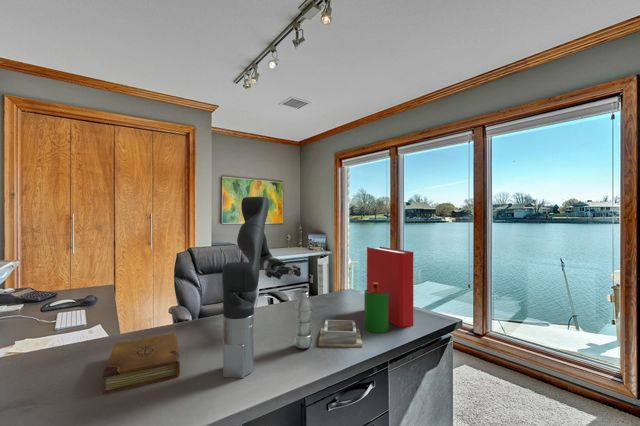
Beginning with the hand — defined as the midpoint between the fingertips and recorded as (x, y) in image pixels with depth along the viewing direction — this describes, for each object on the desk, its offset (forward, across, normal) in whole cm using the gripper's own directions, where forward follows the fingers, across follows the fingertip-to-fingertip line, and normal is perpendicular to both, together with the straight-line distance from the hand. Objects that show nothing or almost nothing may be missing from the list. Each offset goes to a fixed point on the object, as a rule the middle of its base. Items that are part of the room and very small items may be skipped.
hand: (290, 275), depth 120 cm
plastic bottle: (+13, 0, +24) cm, 27 cm away
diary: (+1, -50, +24) cm, 56 cm away
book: (+4, +51, +25) cm, 57 cm away
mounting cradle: (+13, +16, +24) cm, 31 cm away
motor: (+12, +35, +24) cm, 44 cm away
